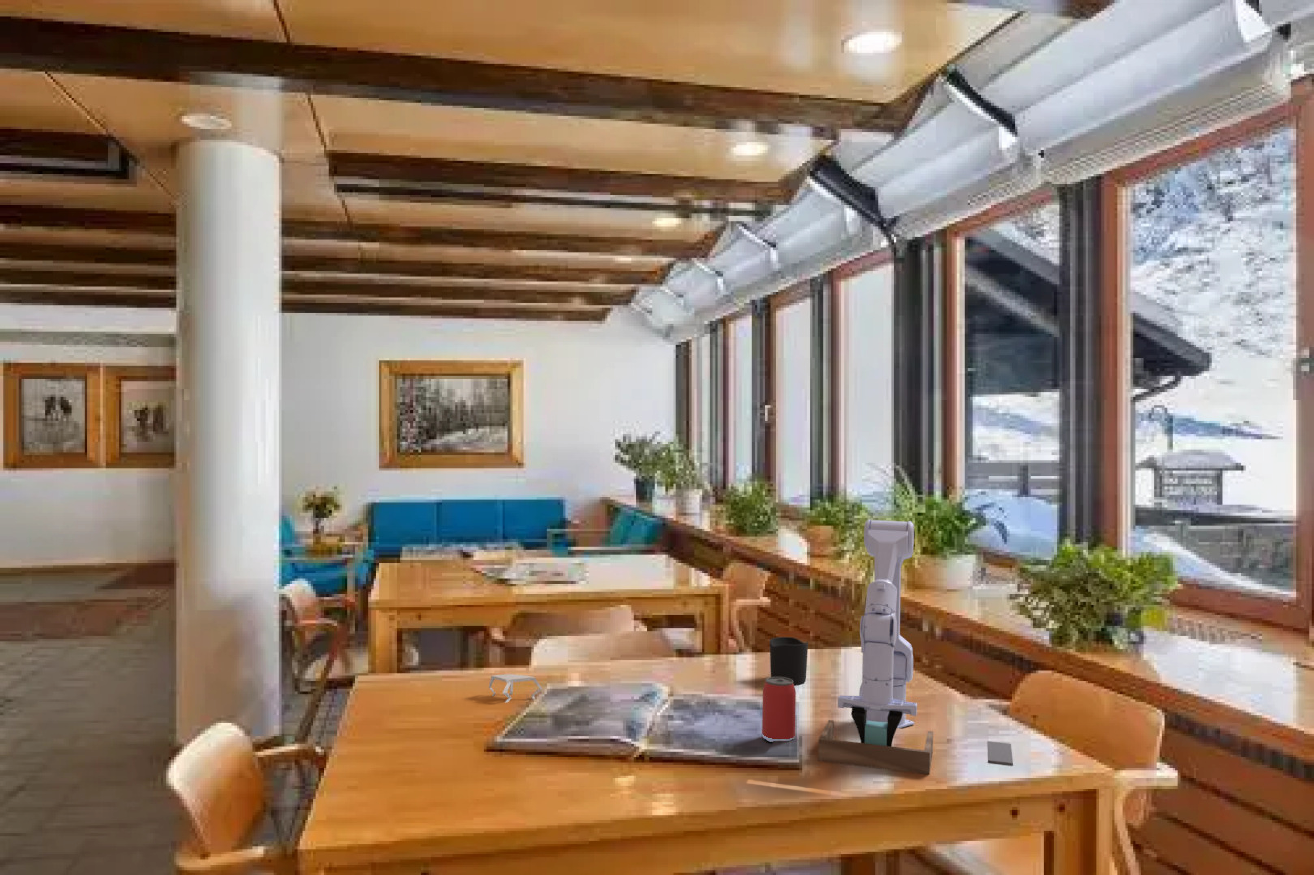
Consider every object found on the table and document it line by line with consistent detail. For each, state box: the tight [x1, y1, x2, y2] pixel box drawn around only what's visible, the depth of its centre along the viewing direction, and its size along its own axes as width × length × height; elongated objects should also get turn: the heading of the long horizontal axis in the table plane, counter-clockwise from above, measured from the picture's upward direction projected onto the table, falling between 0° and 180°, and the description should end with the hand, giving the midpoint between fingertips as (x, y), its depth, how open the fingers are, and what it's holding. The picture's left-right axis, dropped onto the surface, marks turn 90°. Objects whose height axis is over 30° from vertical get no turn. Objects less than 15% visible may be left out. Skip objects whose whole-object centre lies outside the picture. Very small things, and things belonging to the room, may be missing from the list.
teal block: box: [865, 721, 888, 746], centre depth 180 cm, size 4×4×6 cm
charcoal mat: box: [986, 740, 1014, 766], centre depth 186 cm, size 12×12×1 cm
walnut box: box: [817, 719, 934, 775], centre depth 180 cm, size 13×20×4 cm, turn 71°
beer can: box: [761, 676, 797, 739], centre depth 191 cm, size 7×7×12 cm
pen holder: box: [769, 636, 809, 686], centre depth 237 cm, size 9×9×10 cm
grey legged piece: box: [488, 673, 543, 703], centre depth 218 cm, size 12×8×5 cm
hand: (876, 748), depth 180 cm, fingers closed on teal block, 4 cm apart
